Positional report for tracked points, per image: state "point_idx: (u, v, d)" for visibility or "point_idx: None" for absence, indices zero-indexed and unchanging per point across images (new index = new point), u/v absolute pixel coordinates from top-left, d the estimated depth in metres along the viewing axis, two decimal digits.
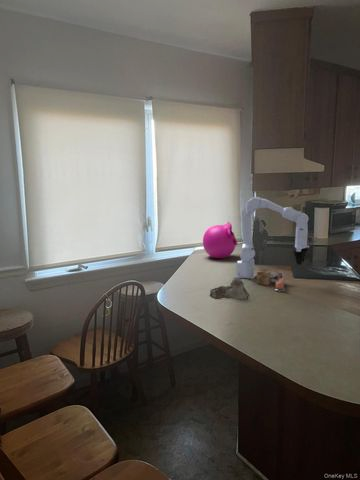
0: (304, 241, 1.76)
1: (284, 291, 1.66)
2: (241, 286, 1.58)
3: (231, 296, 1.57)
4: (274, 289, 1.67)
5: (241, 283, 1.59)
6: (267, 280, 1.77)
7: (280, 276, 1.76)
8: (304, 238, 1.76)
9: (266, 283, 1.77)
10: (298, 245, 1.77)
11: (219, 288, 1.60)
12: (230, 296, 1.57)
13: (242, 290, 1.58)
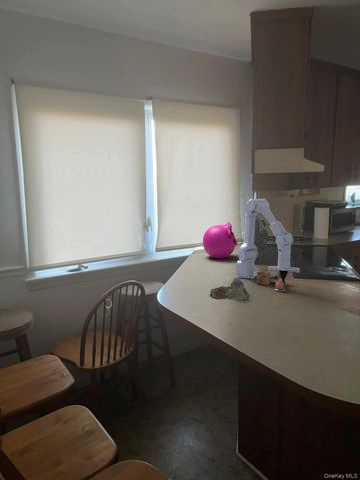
0: (279, 262, 1.68)
1: (284, 291, 1.66)
2: (241, 287, 1.57)
3: (231, 296, 1.56)
4: (274, 289, 1.67)
5: (241, 284, 1.58)
6: (267, 280, 1.77)
7: (280, 276, 1.76)
8: (279, 259, 1.67)
9: (266, 283, 1.77)
10: None
11: (219, 288, 1.60)
12: (230, 296, 1.56)
13: (242, 291, 1.57)
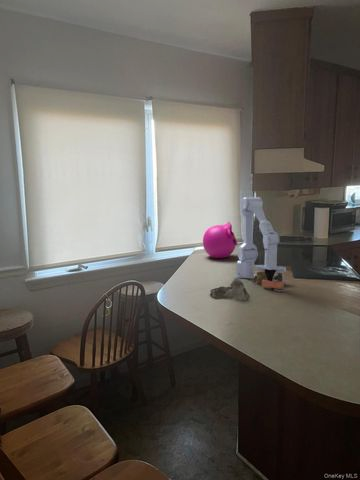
0: (265, 261, 1.70)
1: (284, 291, 1.66)
2: (241, 287, 1.57)
3: (230, 297, 1.56)
4: (274, 289, 1.67)
5: (241, 284, 1.57)
6: None
7: (280, 276, 1.76)
8: (265, 258, 1.70)
9: None
10: None
11: (219, 288, 1.59)
12: (229, 297, 1.56)
13: (242, 291, 1.56)
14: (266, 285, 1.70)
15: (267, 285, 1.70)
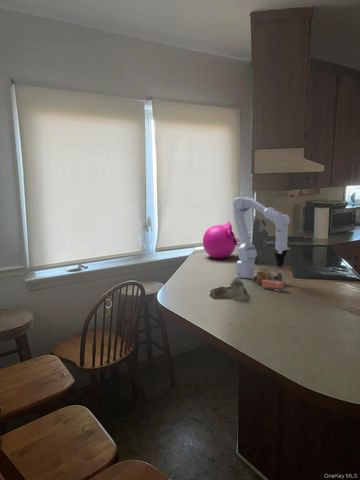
0: (284, 243, 1.73)
1: (284, 291, 1.66)
2: (241, 287, 1.57)
3: (230, 297, 1.56)
4: (274, 289, 1.67)
5: (241, 284, 1.57)
6: None
7: (280, 276, 1.76)
8: (284, 240, 1.73)
9: None
10: (279, 247, 1.73)
11: (219, 288, 1.59)
12: (229, 297, 1.56)
13: (242, 291, 1.56)
14: (266, 285, 1.70)
15: (267, 285, 1.70)
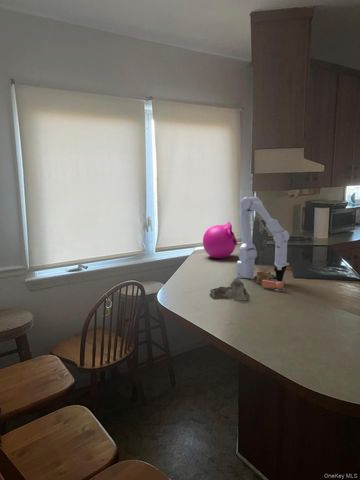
0: (284, 259, 1.74)
1: (284, 291, 1.66)
2: (241, 287, 1.57)
3: (230, 297, 1.56)
4: (274, 289, 1.67)
5: (241, 284, 1.57)
6: None
7: None
8: (284, 256, 1.74)
9: None
10: (278, 263, 1.75)
11: (219, 288, 1.59)
12: (229, 297, 1.56)
13: (242, 291, 1.56)
14: (266, 285, 1.70)
15: (267, 285, 1.70)
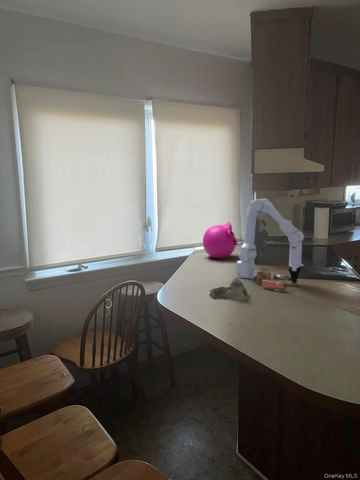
0: (299, 260, 1.72)
1: (284, 291, 1.66)
2: (241, 288, 1.56)
3: (229, 297, 1.55)
4: (274, 289, 1.67)
5: (241, 285, 1.56)
6: None
7: None
8: (299, 257, 1.71)
9: None
10: (293, 264, 1.72)
11: (219, 289, 1.59)
12: (228, 297, 1.55)
13: (241, 292, 1.55)
14: (266, 285, 1.70)
15: (267, 285, 1.70)
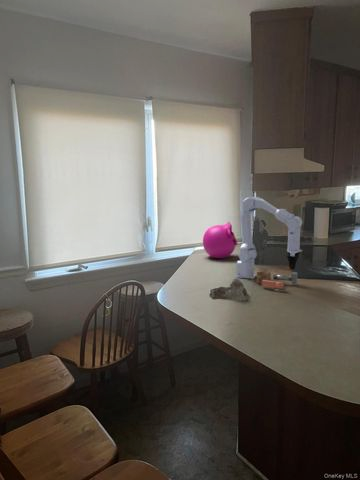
0: (297, 245, 1.71)
1: (284, 291, 1.66)
2: (240, 288, 1.56)
3: (229, 297, 1.55)
4: (274, 289, 1.67)
5: (241, 285, 1.56)
6: None
7: (294, 277, 1.74)
8: (297, 242, 1.71)
9: None
10: (291, 249, 1.72)
11: (218, 289, 1.59)
12: (228, 297, 1.55)
13: (241, 292, 1.55)
14: (266, 285, 1.70)
15: (267, 285, 1.70)
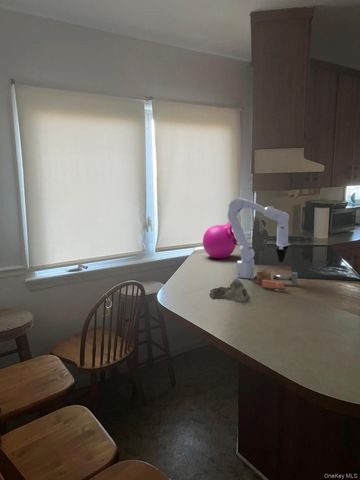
0: (285, 239, 1.81)
1: (284, 291, 1.66)
2: (240, 288, 1.55)
3: (229, 297, 1.55)
4: (274, 289, 1.67)
5: (240, 285, 1.56)
6: None
7: (294, 277, 1.74)
8: (285, 236, 1.81)
9: None
10: (280, 243, 1.82)
11: (218, 289, 1.59)
12: (228, 297, 1.55)
13: (241, 292, 1.55)
14: (266, 285, 1.70)
15: (267, 285, 1.70)
